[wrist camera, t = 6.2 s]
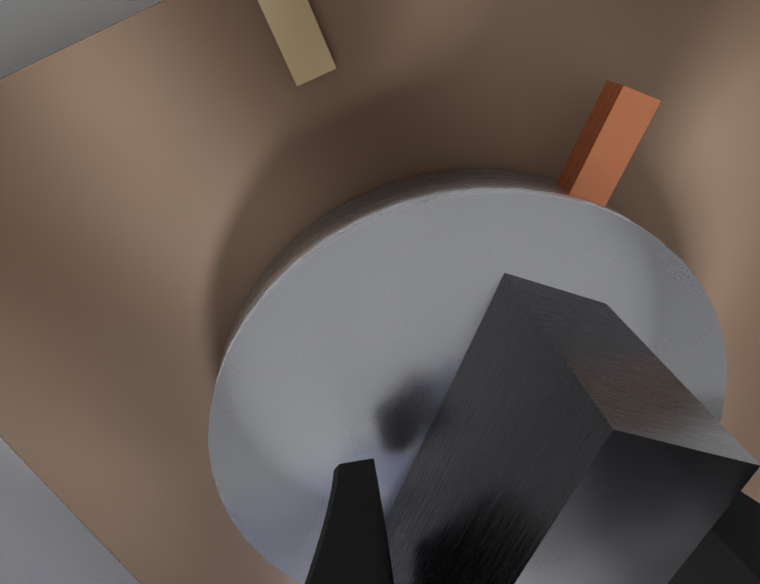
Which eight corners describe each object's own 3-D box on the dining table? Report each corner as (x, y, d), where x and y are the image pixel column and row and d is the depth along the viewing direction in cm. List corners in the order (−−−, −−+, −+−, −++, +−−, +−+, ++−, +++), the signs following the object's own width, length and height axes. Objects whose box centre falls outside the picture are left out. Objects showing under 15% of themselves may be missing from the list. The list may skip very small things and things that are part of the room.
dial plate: (275, 671, 19) (272, 730, 18) (-168, 167, 11) (-244, 194, 10) (825, 472, 18) (874, 517, 16) (776, -285, 10) (865, -337, 8)
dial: (553, 584, 16) (660, 846, 11) (174, 521, 14) (96, 819, 9) (832, 174, 11) (1229, 310, 6) (332, -30, 9) (358, -61, 4)
